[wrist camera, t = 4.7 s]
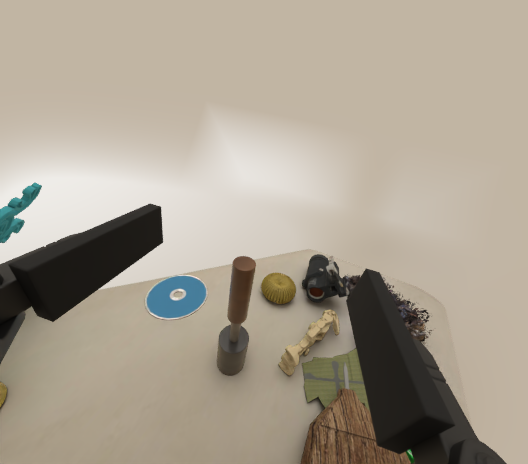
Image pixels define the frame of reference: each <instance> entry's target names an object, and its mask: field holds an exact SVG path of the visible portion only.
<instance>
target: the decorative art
mask: <svg viewBox="0 0 528 464" xmlns="http://www.w3.org/2000/svg"><path fill="white" fill-rule="evenodd" d="M41 187H42V186H41V185H39V184H37V183H33V184H32V185H31V186H28V187H27V188H25V189H24V190H23V192H22V193H23V197H22V198H21V199H19V198H13V199H12V200H11V201H10V202H9V204H8V206H5V207H3V208H2V209H0V243H5V242H6V241H7V240H8V239H9V237H10V235H11V233H12V232H14V233H18V232H19V231H20V229H21V228H22V227H23V225H24V220H21V219H18V218H16V219H14V216H15V215H17V214H18V213H20V212H22V211H23V210H24V209H26V207H28V206H29V205H30V204H31V203H32V202H33V200H34V199H35V198H36V197H37V196H38V194H39V192H40V189H41Z"/></svg>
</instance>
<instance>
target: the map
mask: <svg viewBox="0 0 528 464" xmlns="http://www.w3.org/2000/svg"><path fill="white" fill-rule="evenodd" d="M344 362H345V363H346V367H347V371H348V381H349V389H350V390H354V391H355V392H356V395H357V397H358V399H359V401H360V402H361V403H365V407H366V408H367V409H368V410H369V411H370V409H369V405H368V400H367V395H366V391H365V386H364V381H363V377H362V372H361V367H360V363H359V358H358V353H357V348H355V349H354V350H353V351H351V352H350V353H348V354H345V355H339V356H334V357H333V358H314V357H313V361H311V362H306V363H302V366H303V373H304V380H305V384H304V388H305V392H306V398H307V403H308V402H310V401H311V400H313V399H315V398H317V397H319V399H320V400H321V402H322V404H323V405H324V407H325V408H326V407H327V406H328V405H329V404H330V403H331V402H332V401H333V400H334V399H335V398H336V397H337V394H338V389H342V388H345V385H344V373H343V367H344Z"/></svg>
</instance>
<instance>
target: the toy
mask: <svg viewBox="0 0 528 464" xmlns="http://www.w3.org/2000/svg"><path fill="white" fill-rule="evenodd" d="M322 315H323V317H321V318H320V319H319V320H318V321H317V323H315V322H312V323H311V325H310V326H309V328H308V329H309V331H308V333H307V334H306V336H305V337H304V338H303V340H302V341H300V343H299V344H297V345H296V346H295V347H293V346H291V345H288V346H287V347H286V349H285V350H286V352H285V353H284V354H283V355H282V358H281V359H282V361H281V362H280V363H279V364H278V365H279V366H280V368H281V369H282V370H283V371H284V372H285V373H286V374H287V375H290V376H291V375H292V374H293V372H294V367H296V366H297V365H298V363H299V356H301V355H302V353H303V352H304V351H306V352H305V354H304V356H306V355H307V354H308V352H309V347H311V346H312V345H313V344H314V342H315V341H316V340H320V341H321V340H322V339H323V337H324V336H325V334H326V332H327V331H328V329H329V327H330V325H331V322H332V321H333V325H332V326H333V329H334V332H335V335H338V334H339V320H338V317H337V314H336V313H335V312H334V311H333V310H326V311H324V312H323V314H322Z"/></svg>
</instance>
